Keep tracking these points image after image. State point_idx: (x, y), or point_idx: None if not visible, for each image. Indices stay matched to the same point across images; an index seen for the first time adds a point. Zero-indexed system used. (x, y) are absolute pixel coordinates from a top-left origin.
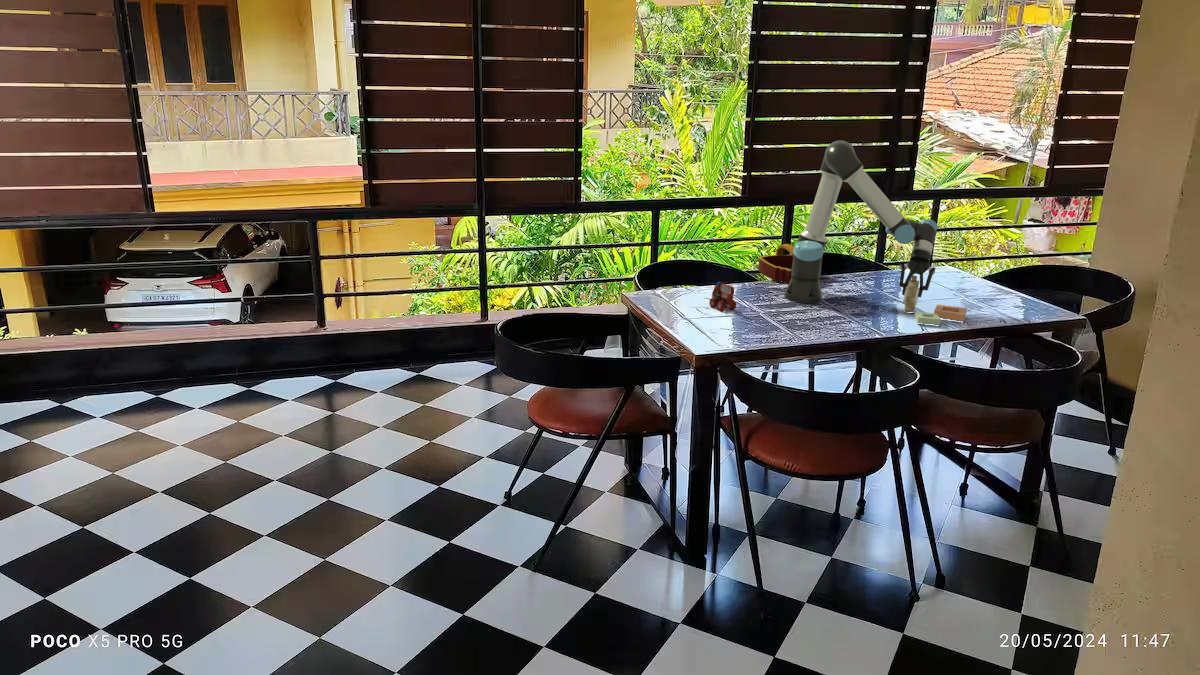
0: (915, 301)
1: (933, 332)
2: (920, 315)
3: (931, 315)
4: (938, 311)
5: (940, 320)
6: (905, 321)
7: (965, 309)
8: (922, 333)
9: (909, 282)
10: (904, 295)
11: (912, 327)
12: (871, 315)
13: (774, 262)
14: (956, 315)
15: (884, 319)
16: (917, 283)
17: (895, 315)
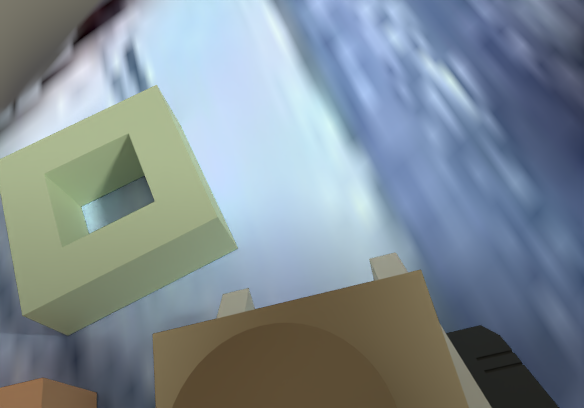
0: (236, 294)
1: (68, 63)
2: (155, 144)
3: (75, 247)
4: (4, 389)
5: (3, 166)
6: (277, 142)
7: None
8: (122, 8)
9: (396, 289)
10: None
11: (196, 58)
12: (554, 93)
13: None
14: None
15: (418, 76)
16: (176, 337)
17: (415, 243)
